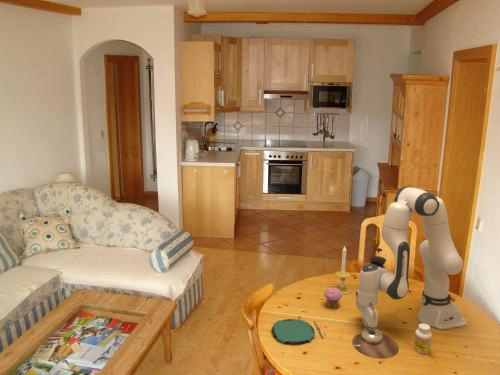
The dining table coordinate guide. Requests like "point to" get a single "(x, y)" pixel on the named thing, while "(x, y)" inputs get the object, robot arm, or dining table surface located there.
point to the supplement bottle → (422, 339)
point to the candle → (343, 275)
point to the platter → (376, 347)
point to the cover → (372, 336)
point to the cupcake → (333, 297)
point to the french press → (378, 259)
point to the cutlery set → (294, 331)
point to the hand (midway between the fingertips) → (365, 325)
